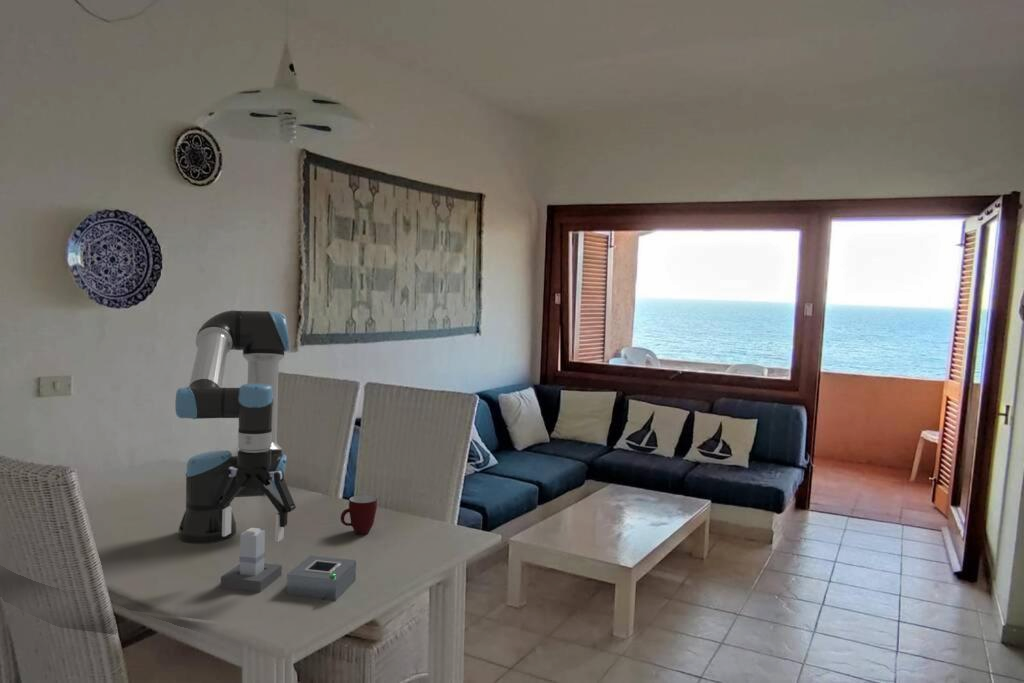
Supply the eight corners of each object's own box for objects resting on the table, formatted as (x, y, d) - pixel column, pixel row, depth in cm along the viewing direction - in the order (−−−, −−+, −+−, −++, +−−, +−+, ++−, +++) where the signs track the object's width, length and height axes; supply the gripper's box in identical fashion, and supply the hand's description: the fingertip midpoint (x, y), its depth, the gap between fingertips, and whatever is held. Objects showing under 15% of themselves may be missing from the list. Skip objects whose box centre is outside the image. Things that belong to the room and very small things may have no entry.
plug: (238, 583, 163) (240, 531, 163) (248, 576, 168) (249, 526, 167) (255, 585, 163) (256, 533, 162) (264, 578, 167) (265, 527, 166)
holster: (220, 589, 161) (220, 576, 161) (243, 572, 171) (244, 561, 171) (260, 594, 160) (260, 581, 159) (281, 577, 169) (281, 565, 169)
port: (286, 595, 160) (287, 571, 159) (309, 575, 171) (310, 553, 171) (335, 601, 158) (336, 577, 157) (355, 580, 170) (356, 558, 169)
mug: (347, 540, 197) (348, 505, 196) (335, 532, 203) (336, 498, 202) (380, 533, 203) (381, 500, 203) (368, 525, 209) (369, 493, 209)
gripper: (197, 448, 161) (195, 537, 162) (296, 456, 158) (294, 547, 159) (215, 442, 169) (213, 527, 170) (311, 449, 165) (308, 536, 166)
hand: (252, 537), depth 164 cm, fingers open, 13 cm apart
